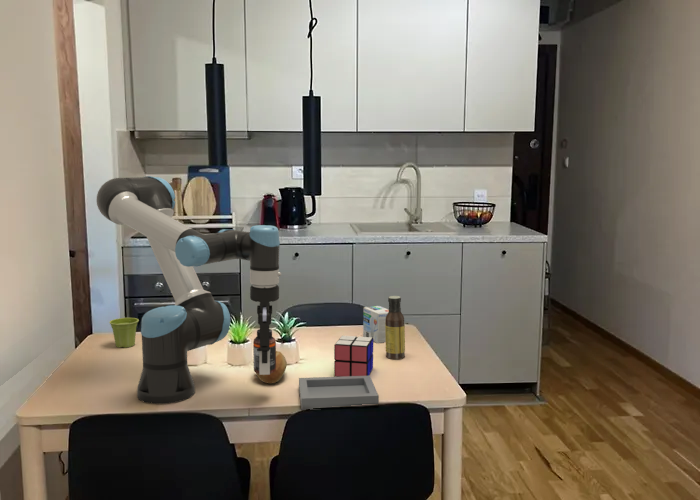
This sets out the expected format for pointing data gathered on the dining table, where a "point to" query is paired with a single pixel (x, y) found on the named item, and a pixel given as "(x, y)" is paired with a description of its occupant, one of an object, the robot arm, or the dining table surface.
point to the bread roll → (278, 372)
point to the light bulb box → (375, 323)
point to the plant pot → (124, 331)
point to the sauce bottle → (395, 330)
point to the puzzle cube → (353, 356)
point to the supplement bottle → (272, 352)
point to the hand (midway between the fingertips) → (264, 369)
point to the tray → (336, 391)
